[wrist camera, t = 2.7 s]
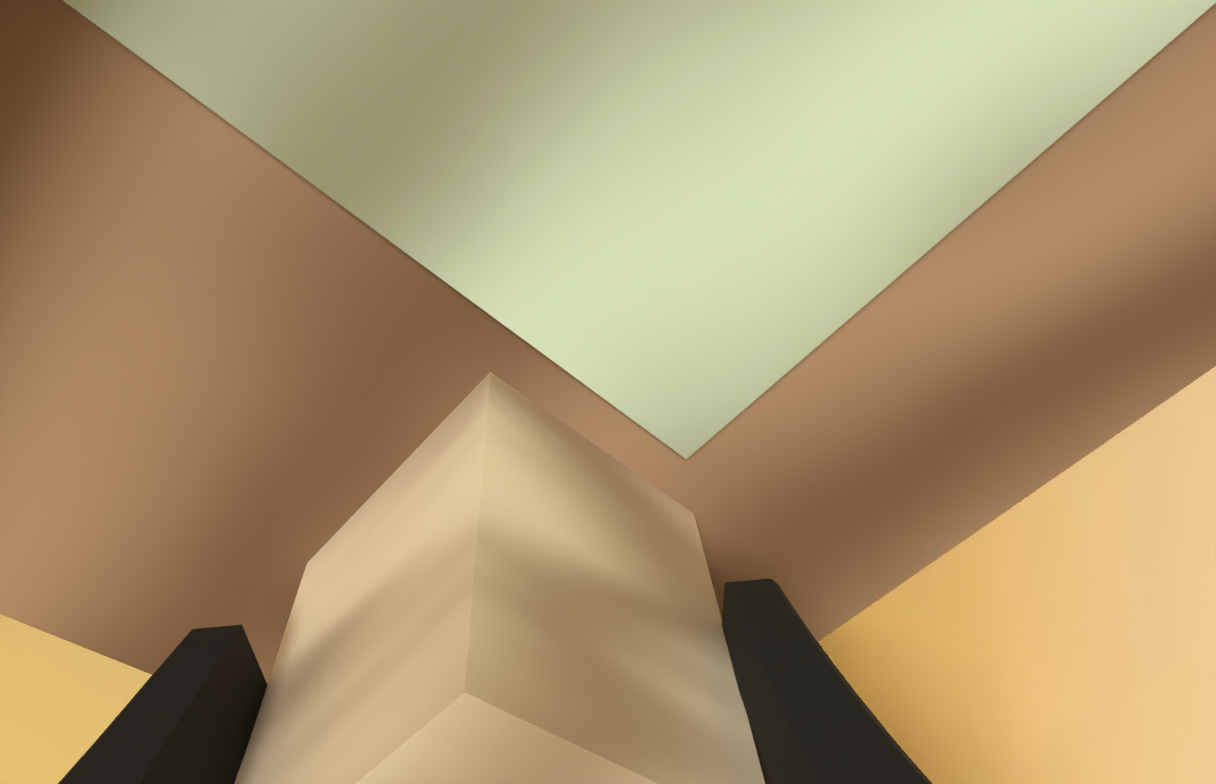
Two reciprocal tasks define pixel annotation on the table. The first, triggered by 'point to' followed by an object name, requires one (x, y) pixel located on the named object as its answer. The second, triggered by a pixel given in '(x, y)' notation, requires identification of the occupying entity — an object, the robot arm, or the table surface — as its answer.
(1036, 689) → the table surface
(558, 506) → the block
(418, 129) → the arena
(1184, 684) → the table surface
